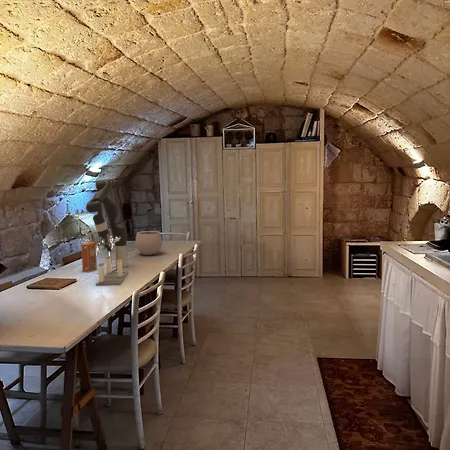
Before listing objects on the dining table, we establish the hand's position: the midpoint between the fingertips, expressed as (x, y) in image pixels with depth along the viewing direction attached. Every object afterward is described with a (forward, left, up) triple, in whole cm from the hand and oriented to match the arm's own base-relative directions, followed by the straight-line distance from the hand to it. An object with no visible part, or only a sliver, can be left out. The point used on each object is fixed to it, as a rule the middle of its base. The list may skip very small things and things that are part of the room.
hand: (109, 251), depth 302 cm
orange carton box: (-18, -32, -20) cm, 42 cm away
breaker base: (+1, +3, -20) cm, 20 cm away
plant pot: (-90, -22, -20) cm, 94 cm away
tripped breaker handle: (-1, +7, -18) cm, 19 cm away
